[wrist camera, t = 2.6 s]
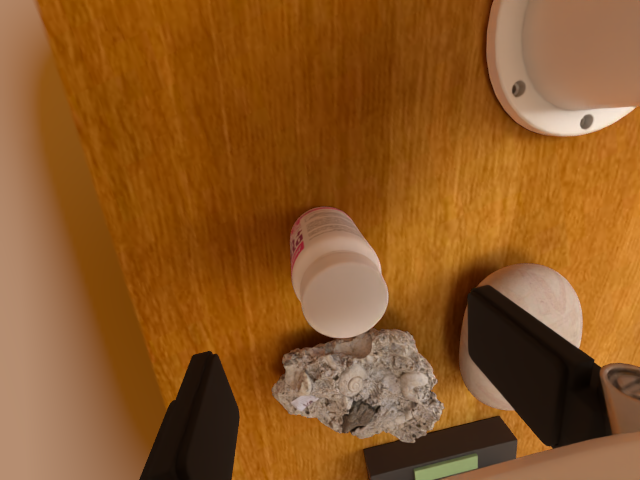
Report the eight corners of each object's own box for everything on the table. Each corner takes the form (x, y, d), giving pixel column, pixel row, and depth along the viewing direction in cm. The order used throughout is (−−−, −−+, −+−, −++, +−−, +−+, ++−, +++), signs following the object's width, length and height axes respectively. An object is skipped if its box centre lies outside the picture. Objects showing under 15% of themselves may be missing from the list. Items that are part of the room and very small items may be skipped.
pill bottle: (282, 212, 20) (282, 265, 12) (351, 198, 21) (394, 242, 13) (296, 274, 22) (304, 355, 14) (359, 261, 22) (402, 333, 14)
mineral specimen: (393, 405, 28) (265, 411, 26) (422, 305, 25) (280, 299, 23) (426, 469, 23) (268, 485, 20) (467, 351, 20) (287, 352, 17)
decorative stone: (527, 373, 28) (574, 421, 24) (436, 384, 27) (467, 436, 23) (561, 247, 24) (628, 275, 19) (454, 255, 23) (497, 287, 18)
